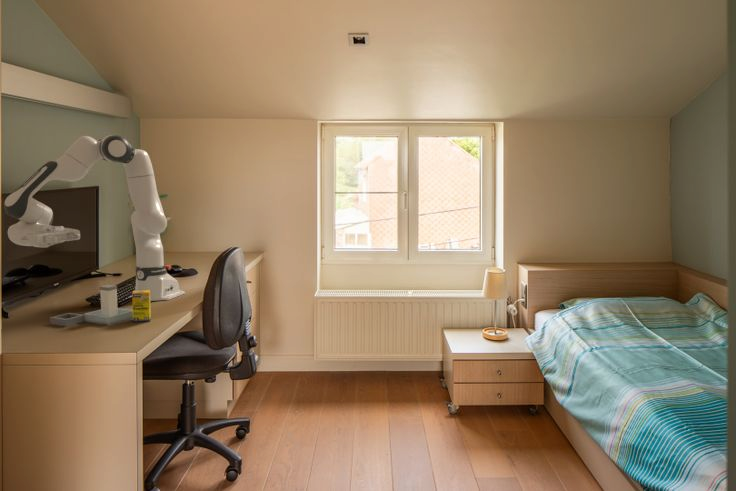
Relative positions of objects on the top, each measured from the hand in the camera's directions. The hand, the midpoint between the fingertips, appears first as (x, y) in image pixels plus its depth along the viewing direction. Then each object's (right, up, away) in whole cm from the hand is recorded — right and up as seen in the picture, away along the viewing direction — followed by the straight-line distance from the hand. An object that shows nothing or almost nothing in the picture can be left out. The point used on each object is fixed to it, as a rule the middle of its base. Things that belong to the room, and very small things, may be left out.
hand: (68, 238), depth 234 cm
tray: (+16, -31, -1) cm, 35 cm away
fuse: (+16, -30, -2) cm, 34 cm away
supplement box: (+28, -31, -1) cm, 42 cm away
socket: (+4, -31, -5) cm, 31 cm away
